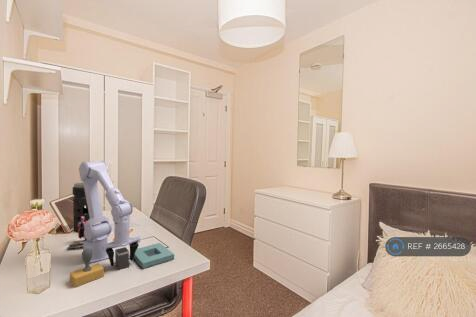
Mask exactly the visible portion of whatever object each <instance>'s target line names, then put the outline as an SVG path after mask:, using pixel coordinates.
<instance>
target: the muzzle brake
mask: <svg viewBox="0 0 476 317" xmlns="http://www.w3.org/2000/svg"><path fill="white" fill-rule="evenodd" d="M72 196H73V198H72V200H73V202H72V208H73V210H72V211H73V215H72V216H73V233H77V234H78V230H79V227H78V223H79V222H81V221H82V220H81V217H82V216H83V217H84V221H88V220H89V219H90V216H89V211H88V205H87V200H86V194H85V189H84V183H83V182H75V183H74V184H73V187H72Z"/></svg>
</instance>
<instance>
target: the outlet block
mask: <svg viewBox="0 0 476 317" xmlns="http://www.w3.org/2000/svg"><path fill="white" fill-rule="evenodd" d="M173 260H175V254H174V252H172V251H171V250H170V249H168V248H167V247H166V246H164V244H162V243H160V242H157V243H154V244H151V245H147V246H146V245H145V246H143V247H138V248H137V250H136V252H135V254H134V258H133V261H135V262H136V263H137V264H138V265H139V266H140V267H141V269H142V270H145V269H148V268H151V267H155V266H158V265H161V264H165V263H167V262H170V261H173Z"/></svg>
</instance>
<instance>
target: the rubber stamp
mask: <svg viewBox="0 0 476 317" xmlns="http://www.w3.org/2000/svg"><path fill="white" fill-rule="evenodd" d="M91 257H92V250H91V249H89V248H87V249H85V250H83V249H82V252H81V258H82V260H83V262H84V264H85V265H84V267H82V268H80V269H77V270H73V271H71V272H69V283H70V285H72V287H73V288H77V287H79V286H82V285H85V284H88V283H91V282H93V281H96V280H98V279H101V278H103V277H104V276H105V274H104V272H105V270H104V267H103V266H102V265H101V264H100V263H98V262H97V263H94V264H91V263H90V260H91ZM90 264H91V265H90Z"/></svg>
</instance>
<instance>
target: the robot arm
mask: <svg viewBox="0 0 476 317" xmlns="http://www.w3.org/2000/svg"><path fill="white" fill-rule="evenodd" d="M78 172H79V179H80V181H81V182H82V183H84V189H85V194H86V200H87V205H88V211H89V216H90V219H89V220H88V221H87V222H86V223H85V224H84V236H85V237H84V238H86V239H87V241H84V242H83V246H82V247H83V248H82V251H83V250H85V249H87V248H89V249H91V250H92V257H91V260H90V263H89V264H92V263H96V262H99V261H102V260H107V259H108V260H109V262H110V263H109V264H110V266H111V267H114V265H115V264H114V263H115V261H114V260H115V258H114V257H115V250H114V249H117V248H120V247H121V248H124V247H126V246H128V245H129V261H131V262H133V261H134V254H135V252H136V250H137V249H138V248H139V244H140V243H141V238H140V236H136V237H130V215H132V213H133V206H132V203H131V202H130V201H128V200H127V199H125V198H124V196H123V195H122V192H121V191H120V189H119V188H116V187H115V186H114V184H113V182H112V179H111V177H110V175H109V166H108V163H107V162H106V161H105V160H96V161H82V162H81V163H80V164H79V168H78ZM98 182H99V183H100V185H101V186H102V188H103V189H104V190H105V195H104V196H105V198H106V200H107V202H108V204H109V206H110V207H111V209H110V214H111V216H112V221H113V222H114V226H113V227H114V233H113V234H114V241H111V242H108V237H109V236H110V234H111V232H112V230H113V227H112V224H111V222H110V219H109V217H106V216H105V215H103V210H102V209H103V208H102V203H101V198H100V193H99V187H98Z"/></svg>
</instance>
